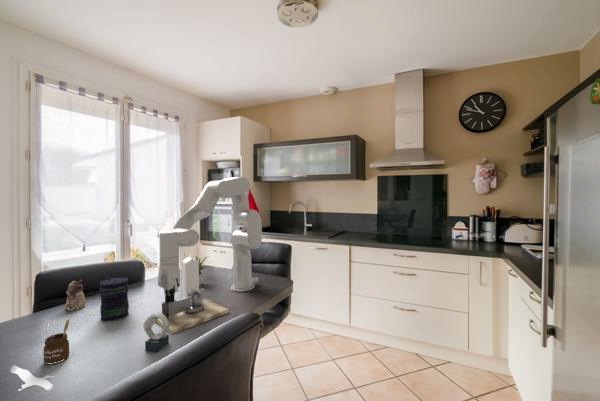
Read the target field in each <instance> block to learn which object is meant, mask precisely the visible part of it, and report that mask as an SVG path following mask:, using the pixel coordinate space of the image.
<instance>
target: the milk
mask: <svg viewBox="0 0 600 401" xmlns="http://www.w3.org/2000/svg"><path fill="white" fill-rule="evenodd" d="M181 266H182V272H181V273H182V298H185V297H188V293H189V292H191V289H196V290H199V289H200V285H199V260H198V261H197V260H196V258H193V255H192V254H190V253H188V257H186V258H184V260H182V262H181ZM189 297H191V296H189Z"/></svg>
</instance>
